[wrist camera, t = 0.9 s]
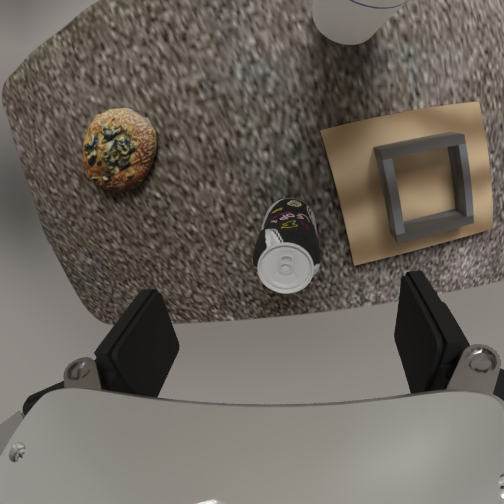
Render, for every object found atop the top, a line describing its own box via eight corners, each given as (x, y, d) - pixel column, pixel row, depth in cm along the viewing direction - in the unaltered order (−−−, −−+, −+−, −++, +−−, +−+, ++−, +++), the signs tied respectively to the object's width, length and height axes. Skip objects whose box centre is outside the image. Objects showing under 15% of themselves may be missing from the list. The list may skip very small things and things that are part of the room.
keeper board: (488, 225, 31) (504, 237, 27) (352, 261, 36) (358, 278, 32) (473, 101, 25) (492, 102, 21) (319, 129, 30) (322, 131, 26)
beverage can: (317, 198, 33) (326, 240, 23) (312, 245, 36) (316, 303, 25) (267, 193, 34) (251, 233, 23) (263, 240, 36) (248, 296, 26)
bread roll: (116, 207, 37) (93, 214, 33) (82, 142, 36) (58, 143, 31) (178, 158, 34) (158, 159, 29) (137, 89, 32) (115, 83, 27)
